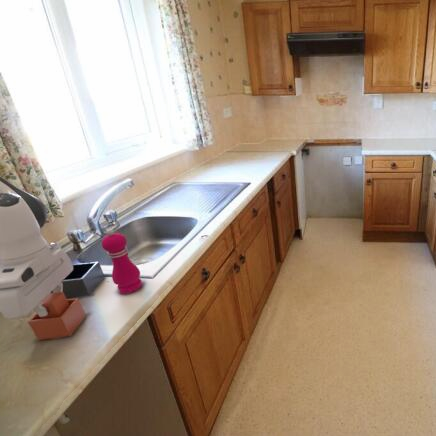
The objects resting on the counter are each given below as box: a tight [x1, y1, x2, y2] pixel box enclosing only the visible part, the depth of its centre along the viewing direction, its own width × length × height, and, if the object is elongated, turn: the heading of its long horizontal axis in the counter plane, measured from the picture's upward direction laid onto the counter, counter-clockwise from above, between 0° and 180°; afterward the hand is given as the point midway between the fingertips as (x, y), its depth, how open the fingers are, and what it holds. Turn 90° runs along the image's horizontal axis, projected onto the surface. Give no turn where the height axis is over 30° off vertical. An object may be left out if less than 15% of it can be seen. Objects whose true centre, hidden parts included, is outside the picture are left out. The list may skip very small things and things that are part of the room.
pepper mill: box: [101, 228, 143, 294], centre depth 95 cm, size 7×7×20 cm
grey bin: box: [49, 261, 106, 299], centre depth 99 cm, size 10×10×6 cm
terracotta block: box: [39, 292, 70, 319], centre depth 81 cm, size 4×4×4 cm
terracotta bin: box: [27, 297, 87, 341], centre depth 83 cm, size 8×8×6 cm
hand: (52, 306), depth 82 cm, fingers closed on terracotta block, 4 cm apart
